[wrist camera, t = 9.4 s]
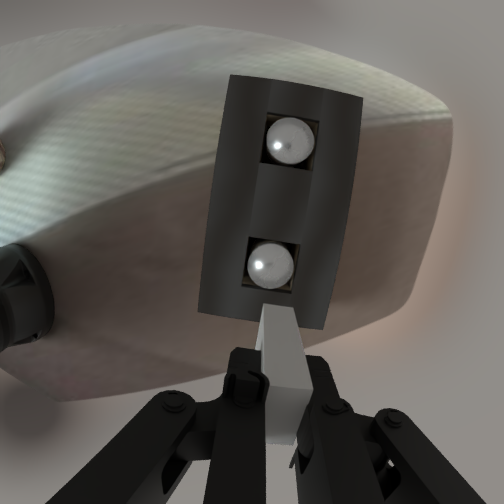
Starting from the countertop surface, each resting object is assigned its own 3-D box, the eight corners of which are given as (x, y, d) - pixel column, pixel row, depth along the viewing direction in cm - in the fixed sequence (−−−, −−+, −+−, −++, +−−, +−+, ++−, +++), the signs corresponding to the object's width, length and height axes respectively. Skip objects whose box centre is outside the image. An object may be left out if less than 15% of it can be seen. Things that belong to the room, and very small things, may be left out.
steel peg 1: (263, 164, 29) (263, 159, 24) (269, 127, 28) (270, 114, 23) (302, 170, 29) (310, 167, 24) (307, 133, 28) (316, 122, 23)
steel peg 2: (247, 268, 32) (244, 285, 26) (253, 231, 31) (251, 240, 26) (285, 274, 32) (289, 291, 26) (291, 237, 31) (297, 248, 26)
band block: (208, 291, 33) (197, 312, 27) (236, 94, 29) (230, 74, 23) (313, 306, 33) (322, 330, 27) (346, 112, 29) (363, 97, 23)
